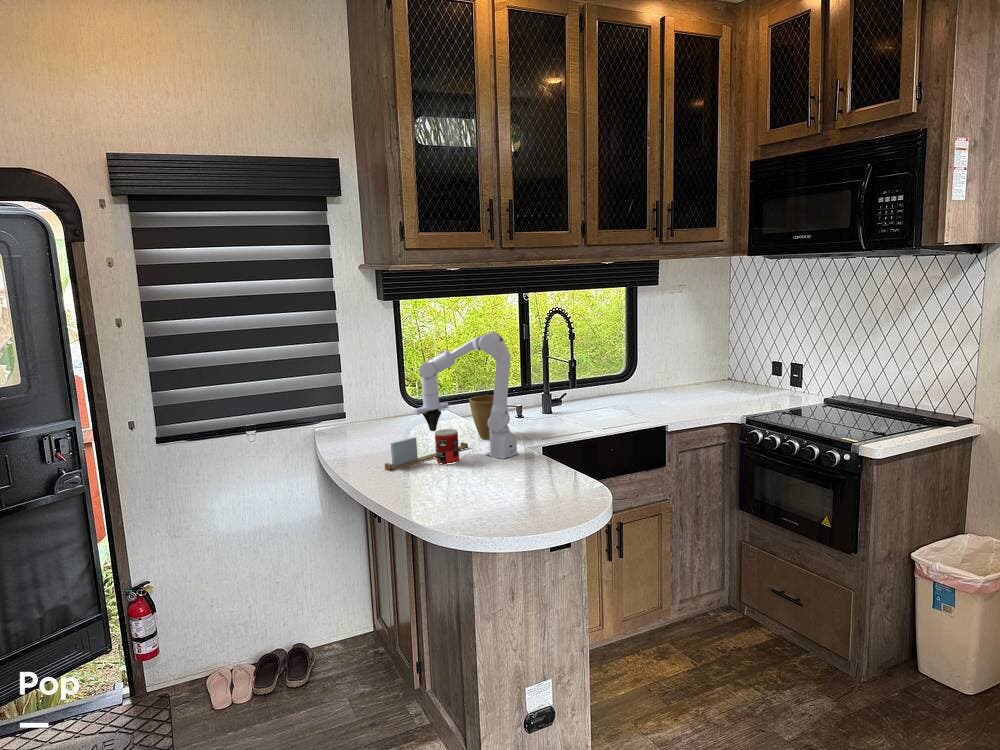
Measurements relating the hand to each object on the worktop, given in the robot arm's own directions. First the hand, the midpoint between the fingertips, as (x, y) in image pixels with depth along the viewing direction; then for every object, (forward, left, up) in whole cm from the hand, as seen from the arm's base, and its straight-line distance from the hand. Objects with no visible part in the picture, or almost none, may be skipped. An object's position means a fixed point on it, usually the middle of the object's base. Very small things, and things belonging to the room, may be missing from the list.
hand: (432, 430), depth 253 cm
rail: (-3, +5, -9) cm, 11 cm away
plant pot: (+1, -29, -9) cm, 31 cm away
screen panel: (-3, +15, -9) cm, 18 cm away
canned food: (-12, +3, -9) cm, 16 cm away
